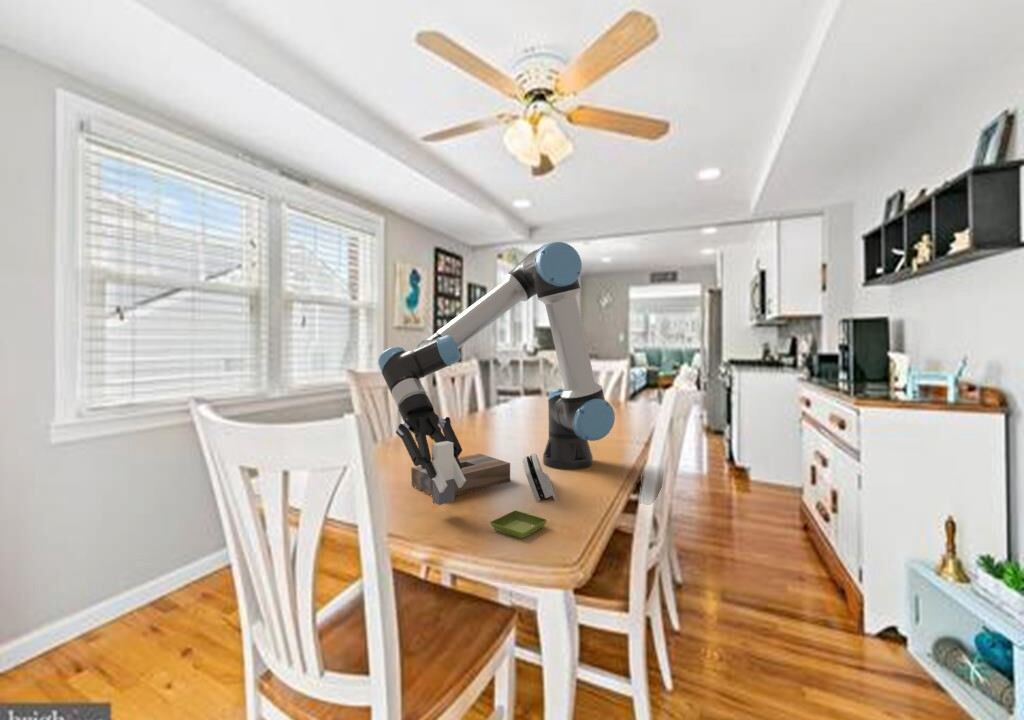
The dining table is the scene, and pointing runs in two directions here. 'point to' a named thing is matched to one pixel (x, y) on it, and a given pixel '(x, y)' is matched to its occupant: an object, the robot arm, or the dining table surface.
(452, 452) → the rail end
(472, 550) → the dining table surface
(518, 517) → the olive green shallow tray
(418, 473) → the post foot
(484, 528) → the dining table surface
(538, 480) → the grey curved slotted block
